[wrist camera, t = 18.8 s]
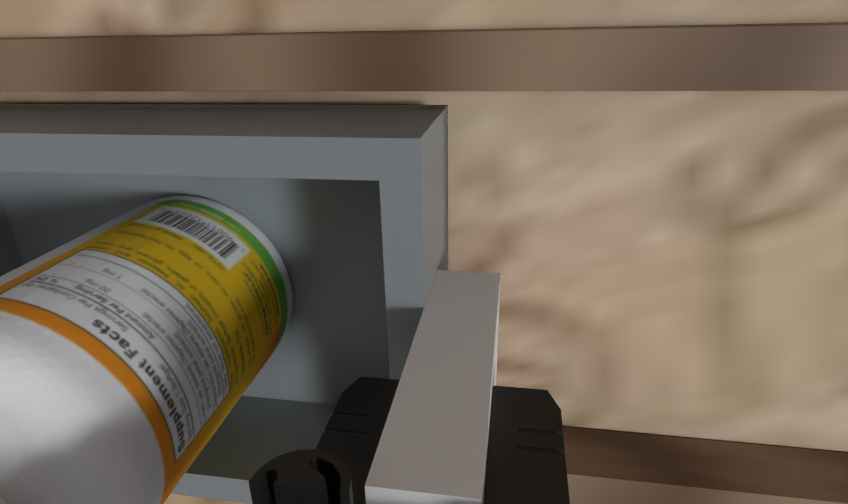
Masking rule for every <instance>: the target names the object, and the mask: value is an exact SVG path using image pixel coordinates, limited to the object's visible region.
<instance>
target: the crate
mask: <svg viewBox="0 0 848 504" xmlns="http://www.w3.org/2000/svg"><path fill="white" fill-rule="evenodd" d="M172 196H194V197H200V198H205V199H209V200H212V201H215V202H218V203H220V204H223V205H225V206H227V207H229V208H231V209H233V210H235V211H237V212H238V213H240V214H241V215H243V216H244V217H246V218H247V219H248V220H249V221H250V222H252V223H253V224H254V225H255V226H256V227H258V228H259V229H260V230H261V231H262V232H263V233H264V234H265V235H266V236H267V238H268V239H269V240H270V241H271V243H272V244H273V245H274V247H275V248H276V250H277V251H278V253H279V255H280V257H281V258H282V260H283V262H284V265H285V267H286V269H287V272H288V276H289V279H290V283H291V288H292V297H293V303H292V313H291V319H290V322H289V325H288V328H287V331H286V333H285V335H284V337H283V338H282V340H281V341H280V343H279V345H278V346H277V348H276V349H275V351H274V352H273V354H272V355H271V356H270V358H269V359H268V361H267V362H266V363H265V365H264V366H263V367H262V369H261V370H260V372H259V373H258V374H257V376H256V377H255V378H254V380H253V381H252V382H251V384H250V385H249V387H248V388H247V389H246V391H245V392H244V393H243V395H242V396H241V397H240V399H239V400H238V401H237V403H236V404H235V405H234V407H233V408H232V410H231V411H230V412H229V414H228V415H227V416H226V418H225V419H224V421H223V422H222V424H221V425H220V426H219V428H218V429H217V431H216V432H215V433H214V434H213V436H212V437H211V438H210V440H209V441H208V442H207V444H206V445H205V447H204V448H203V449H202V451H201V452H200V453H199V455H198V456H197V458H196V459H195V460H194V462H193V463H192V464H191V466H190V467H189V469H188V470H187V471H186V473H185V474H184V475H183V477H182V478H181V480H180V481H179V482H178V484H177V485H176V486H175V488H174V489H173V491H172V492H171V493H172V494H180V495H188V496H196V497H204V498H212V499H220V500H228V501H236V502H244V503H252V498H251V493H250V488H249V482H248V481H249V480H250V479H251V478H252V477H253V475H254V474H255V473H256V472H257V471H258V469H259V468H260V467H261V466H263V465H264V464H266V463H268V462H269V461H271V460H272V459H274V458H275V457H277V456H279V455H283V454H286V453H289V452H292V451H295V450H308V449H316V446H317V444H318V442H319V440H320V438H321V436H322V434H323V433H325V428H326V425H327V423H328V421H329V419H330V417H331V416H332V415H333V411H334V409H335V406H336V404H337V402H338V400H339V398H340V396H341V394H342V392H343V391H344V390H346V389H347V388H348V387H349V386H350V385H351V384H352V383H354V382H355V381H356V380H357V379H358V378H359V377H372V378H384V379H396V380H400V378H401V375H402V372H403V369H404V366H405V363H406V360H407V357H408V354H409V351H410V348H411V345H412V342H413V339H414V336H415V333H416V330H417V327H418V324H419V321H420V318H421V315H422V312H423V309H424V306H425V303H426V300H427V297H428V294H429V291H430V288H431V285H432V282H433V279H434V276H435V273H436V270H447V271H448V105H253V104H0V277H1V276H3V275H4V274H6V273H8V272H10V271H12V270H14V269H16V268H18V267H20V266H22V265H24V264H26V263H28V262H30V261H32V260H34V259H36V258H38V257H40V256H42V255H44V254H46V253H48V252H50V251H52V250H54V249H56V248H58V247H60V246H62V245H64V244H66V243H68V242H70V241H72V240H74V239H75V238H77V237H79V236H81V235H83V234H85V233H87V232H89V231H91V230H93V229H95V228H97V227H99V226H101V225H103V224H105V223H107V222H109V221H111V220H113V219H115V218H116V217H118V216H120V215H123V214H125V213H127V212H129V211H131V210H133V209H135V208H137V207H140V206H142V205H144V204H146V203H148V202H151V201H154V200H157V199H160V198H165V197H172ZM252 504H253V503H252Z"/></svg>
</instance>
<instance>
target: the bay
mask: <svg viewBox="0 0 848 504" xmlns="http://www.w3.org/2000/svg"><path fill="white" fill-rule="evenodd" d="M724 90H848V22H845V23H790V24H735V25H681V26H626V27H571V28H516V29H462V30H407V31H352V32H298V33H243V34H188V35H134V36H79V37H24V38H0V91H724ZM562 428H563V438H564V449H565V459H566V469H567V479H568V489H569V499H570V504H848V453H845V452H834V451H823V450H813V449H802V448H791V447H780V446H769V445H758V444H747V443H737V442H726V441H715V440H704V439H693V438H682V437H672V436H661V435H650V434H639V433H628V432H617V431H606V430H596V429H585V428H574V427H563V426H562Z"/></svg>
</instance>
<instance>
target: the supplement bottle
mask: <svg viewBox="0 0 848 504" xmlns="http://www.w3.org/2000/svg"><path fill="white" fill-rule="evenodd" d="M292 303H293V297H292V288H291V283H290V279H289V276H288V272H287V269H286V267H285V265H284V262H283V260H282V258H281V257H280V255H279V253H278V251H277V250H276V248H275V247H274V245H273V244H272V243H271V241H270V240H269V239H268V238H267V236H266V235H265V234H264V233H263V232H262V231H261V230H260V229H259V228H258V227H256V226H255V225H254V224H253V223H252V222H250V221H249V220H248V219H247V218H246V217H244V216H243V215H241V214H240V213H238V212H237V211H235V210H233V209H231V208H229V207H227V206H225V205H223V204H220V203H218V202H215V201H212V200H209V199H205V198H200V197H194V196H172V197H165V198H160V199H157V200H154V201H151V202H148V203H146V204H144V205H142V206H140V207H137V208H135V209H133V210H131V211H129V212H127V213H125V214H123V215H120V216H118V217H116V218H115V219H113V220H111V221H109V222H107V223H105V224H103V225H101V226H99V227H97V228H95V229H93V230H91V231H89V232H87V233H85V234H83V235H81V236H79V237H77V238H75V239H74V240H72V241H70V242H68V243H66V244H64V245H62V246H60V247H58V248H56V249H54V250H52V251H50V252H48V253H46V254H44V255H42V256H40V257H38V258H36V259H34V260H32V261H30V262H28V263H26V264H24V265H22V266H20V267H18V268H16V269H14V270H12V271H10V272H8V273H6V274H4V275H3V276H1V277H0V504H163V503H164V502H165V500H166V499H167V498H168V496H169V495H170V493H171V492H172V491H173V489H174V488H175V486H176V485H177V484H178V482H179V481H180V480H181V478H182V477H183V475H184V474H185V473H186V471H187V470H188V469H189V467H190V466H191V464H192V463H193V462H194V460H195V459H196V458H197V456H198V455H199V453H200V452H201V451H202V449H203V448H204V447H205V445H206V444H207V442H208V441H209V440H210V438H211V437H212V436H213V434H214V433H215V432H216V431H217V429H218V428H219V426H220V425H221V424H222V422H223V421H224V419H225V418H226V416H227V415H228V414H229V412H230V411H231V410H232V408H233V407H234V405H235V404H236V403H237V401H238V400H239V399H240V397H241V396H242V395H243V393H244V392H245V391H246V389H247V388H248V387H249V385H250V384H251V382H252V381H253V380H254V378H255V377H256V376H257V374H258V373H259V372H260V370H261V369H262V367H263V366H264V365H265V363H266V362H267V361H268V359H269V358H270V356H271V355H272V354H273V352H274V351H275V349H276V348H277V346H278V345H279V343H280V341H281V340H282V338H283V337H284V335H285V333H286V331H287V328H288V325H289V322H290V319H291V313H292Z"/></svg>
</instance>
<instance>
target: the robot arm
mask: <svg viewBox="0 0 848 504" xmlns="http://www.w3.org/2000/svg"><path fill="white" fill-rule="evenodd" d="M499 297H500V273H487V272H467V271H447V270H436V273H435V276H434V279H433V282H432V285H431V288H430V291H429V294H428V297H427V300H426V303H425V306H424V309H423V312H422V315H421V318H420V321H419V324H418V327H417V330H416V333H415V336H414V339H413V342H412V345H411V348H410V351H409V354H408V357H407V360H406V363H405V366H404V369H403V372H402V375H401V378H400V380H396V379H384V378H372V377H359V378H358V379H357V380H356V381H355V382H354V383H352V384H351V385H350V386H349V387H348V388H347V389H346V390H344V391H343V392H342V394H341V396H340V398H339V400H338V402H337V404H336V406H335V409H334V411H333V415H332V416H331V417H330V419H329V421H328V423H327V425H326V428H325V433H323V434H322V436H321V438H320V440H319V442H318V444H317V446H316V449H308V450H295V451H292V452H289V453H286V454H283V455H279V456H277V457H275V458H274V459H272V460H271V461H269V462H268V463H266V464H264V465H263V466H261V467H260V468H259V469H258V471H257V472H256V473H255V474H254V475H253V477H252V478H251V479H250V480H249V481H248V482H249V488H250V493H251V498H252V503H253V504H570V499H569V489H568V479H567V469H566V459H565V449H564V438H563V428H562V418H561V409H560V408H559V407H558V405H557V404H556V402H555V401H554V399H553V398H552V396H551V395H550V393H549V392H548V391H547V390H539V389H527V388H515V387H503V386H496V374H497V349H498V323H499Z"/></svg>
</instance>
